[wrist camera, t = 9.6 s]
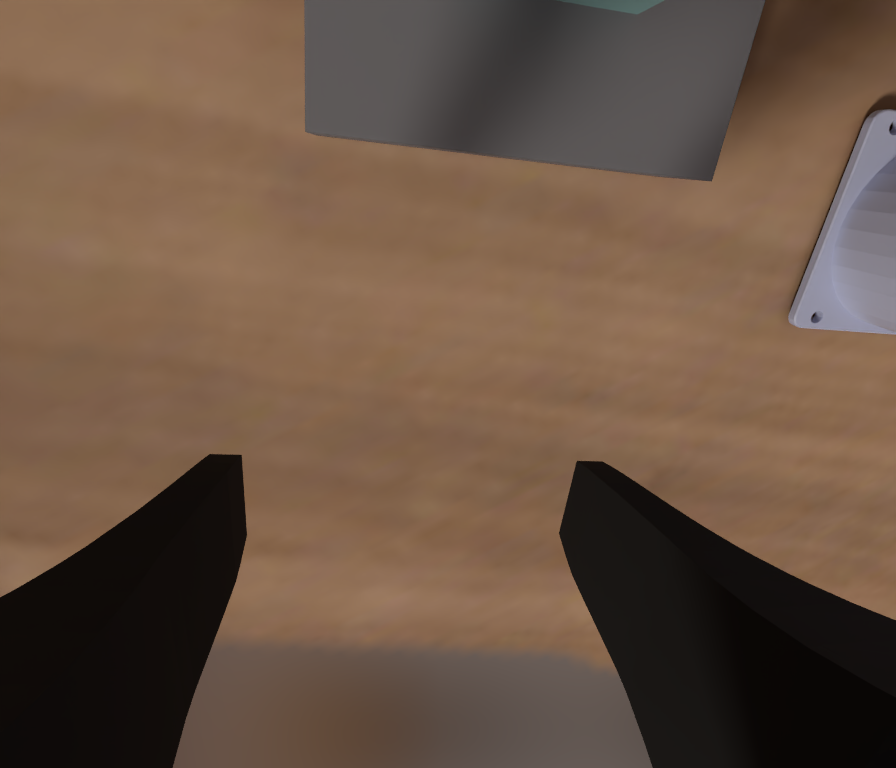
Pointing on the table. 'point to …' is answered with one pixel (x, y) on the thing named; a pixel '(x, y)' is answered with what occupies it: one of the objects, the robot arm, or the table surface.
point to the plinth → (532, 79)
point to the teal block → (618, 4)
